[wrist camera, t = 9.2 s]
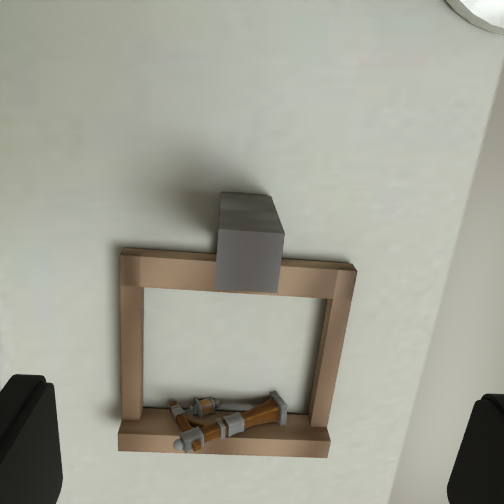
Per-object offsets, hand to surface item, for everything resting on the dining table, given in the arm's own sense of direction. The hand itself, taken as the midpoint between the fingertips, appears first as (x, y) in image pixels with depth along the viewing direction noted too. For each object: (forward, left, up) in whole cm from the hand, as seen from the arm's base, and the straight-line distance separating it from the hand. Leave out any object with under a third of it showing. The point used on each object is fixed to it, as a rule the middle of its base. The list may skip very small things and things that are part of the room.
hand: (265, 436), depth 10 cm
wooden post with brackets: (+8, +12, -19) cm, 24 cm away
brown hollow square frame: (+4, +6, -18) cm, 20 cm away
